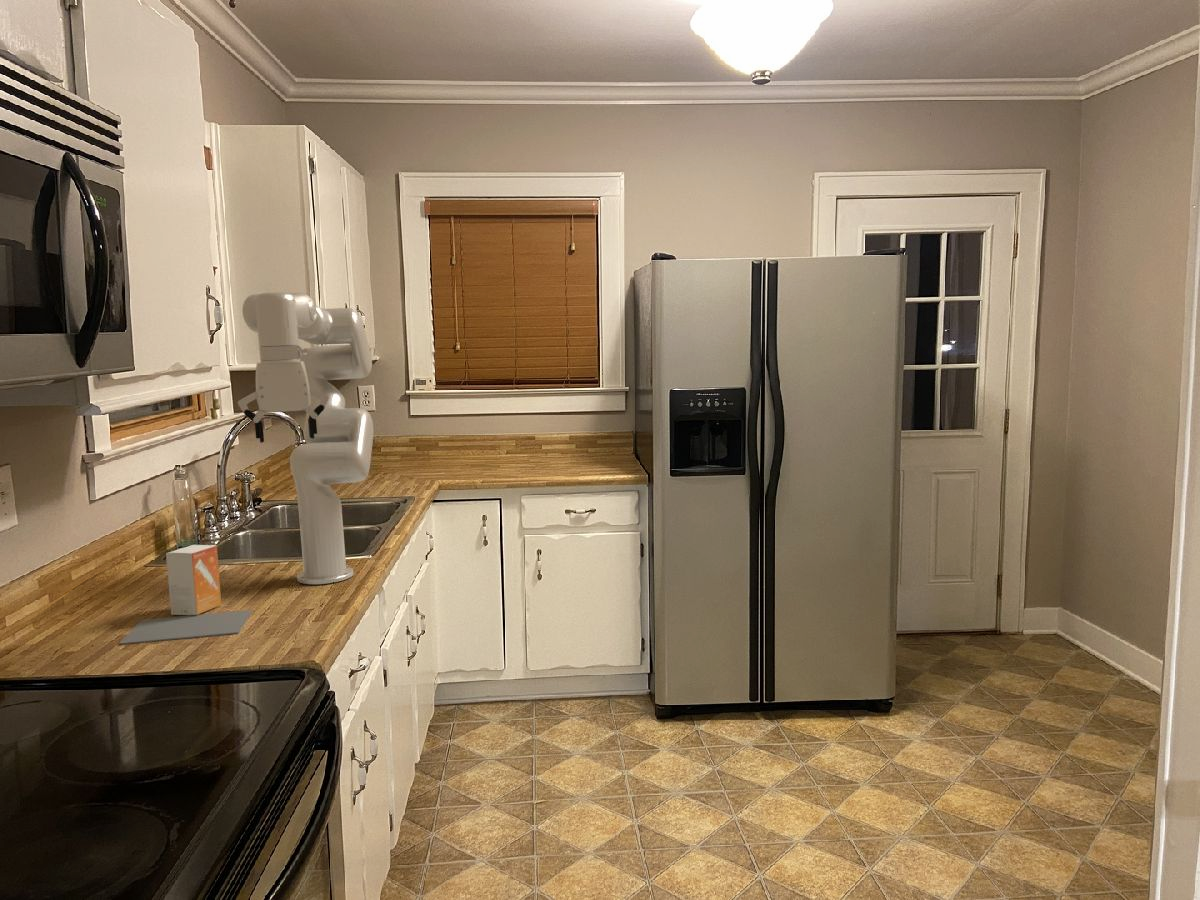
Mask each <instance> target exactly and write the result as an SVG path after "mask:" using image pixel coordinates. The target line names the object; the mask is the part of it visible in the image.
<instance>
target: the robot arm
mask: <svg viewBox="0 0 1200 900" xmlns="http://www.w3.org/2000/svg"><path fill="white" fill-rule="evenodd" d="M241 309H242V318H243V320H244V323H245V324H246V326H247V327H248V328H249V329H250V330H251V331H252V332H254V333H256V334H257V336H258V337H257V338H258V346H259V347H258V348H259V358H260V359H259V360H260V362H257V363H256V366H255V391H254V392H252V393H250V394H249V395H246V396H245V397H243V398H241V399H240V400H238V401H237V405H238V407H239V408H240V410H241V411H242V413H243V414H244V416H246V417H247V418H248V419H250V420H251V421H252V422H253V423H254V430H255V431H254V432H255V438H256V439H259V443H264V442H265V437H264V424H263V422H262V419H263V417H264V416H265V415H266V413H282V412H283V413H285V412H297V411H305V413H306V416H305V421H304V426H303V427H304V428H303V439H304V442H305V443H304V444H300V445H299V446H297V447H295V448H294V449H293V450H292V452H291V454H290V458H289V465H290V470H291V474H292V478H293V481H294V486H295V490H296V498H297V509H298V520H299V531H300V543H301V556H302V566H303V567H302V568H303V569H302V571H300V572H299V573H298V574H297V575H296V580H297V581H298V583H301V584H305V585H325V584H333V582H334V583H338V582H342V581H344V580H348V579H350V578H352V576H354V568H352V567H350V566H347V562H346V561H347V560H346V548H345V535H344V534H345V533H344V522H343V509H342V508H343V507H342V502H341V499H340V497H339V495H338V493H337V492H336V491H335V490H334V489H333V488H332V487H331V486H330V485H333V484H354V483H361V482H363V481H365V480H366V479H367V478H368V476H369V473H370V469H371V461H372V451H373V442H374V432H375V431H374V423H373V418H372V416H371V414H370V412H369V411H367V410H366V409H363V408H360V407H358V408H357V407H350V408H348V407H346V399H345V397H344V395H343V394H342V392H340V390H339V389H337V388H336V386H334V385H333V384H331V382H328V381H333V380H337V381H338V380H339V381H340V380H357V379H364V378H367V377H368V376H369V375H370V374H371V371H372V368H373V361H372V360H373V358H372V354H371V350H370V345H369V342H368V339H367V337H368V336H367V334H366V330H365V325H364V324H363V320H362V318H361V317H360V314H359V313H358V312H357V310H356V309H353V308H350V307H342V308H340V307H337V308H335V307H334V308H321V307H319V306H318V305H317V304H316V303H315V302H314V300H313V299H312V297H311V296H309V295H308V294H306V293H302V292H263V293H255V294H250V295H249V296H247V297H246V298H245V300H244V302H243V304H242V308H241ZM300 340H302V341H304V342H306V343H309V344H312V345H315V346H311V347H308V348H303V347H300ZM253 401H256V406H257V409H258V410H257V411H256V413H254V412H252V411H251V410H250V409H249V407H248V404H251V402H253Z"/></svg>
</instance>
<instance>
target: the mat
mask: <svg viewBox="0 0 1200 900" xmlns="http://www.w3.org/2000/svg"><path fill="white" fill-rule="evenodd" d="M252 612H253V611H252V609H248V610H238V611H237V610H236V611H226V612H224V611H223V612H217V613H216V612H214V613H206V614H205V613H204V614H202V613H201V614H198V615H179V616H171V617H170V616H169V617H161V618H149V619H141V620H140V621H139V622H138V623H137V624H136V626H135V627H133V628H132V629H131V631H130V632H128V633H127V634H126V636H125V637H124V638H122V640H121V641H120V642H118V645H119V644H124V645H132V643H134V644H142V643H143V644H144V642H145V643H152V642H164V641H175V640H184V639H185V640H186V639H195V638H207V637H216V636H218V637H219V636H226V635H227V636H228V635H237V634H240V632H241V630H242V628H243V627H244V625H245V623H246V622H247V620H248V618H249V617H250V615H251V613H252Z"/></svg>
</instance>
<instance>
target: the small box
mask: <svg viewBox="0 0 1200 900" xmlns="http://www.w3.org/2000/svg"><path fill="white" fill-rule="evenodd" d="M165 556H166V557H165V558H166V568H167V569H166V571H167V581H168V582H167V583H168V592H169V593H168V594H169V605H170V614H171V615H172V616H173V615H174V616H191V615H201V614H202V613H205V612H207V611H210V610H212V609H215V608H217V607H221V606H222V596H221V595H222V594H221V585H220V584H221V583H220V581H221V580H220V570H219V561H218V560H219V557H218V546H217V545H214V544H191V545H189V546H185V547H181V548H178V549H175V550H172V551H170V552H166V553H165Z"/></svg>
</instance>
